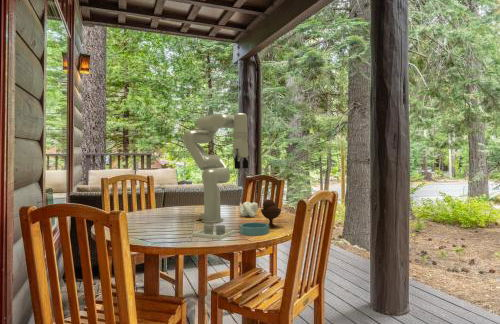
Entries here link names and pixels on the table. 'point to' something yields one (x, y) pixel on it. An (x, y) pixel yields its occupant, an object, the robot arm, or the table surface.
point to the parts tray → (214, 234)
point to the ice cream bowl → (270, 211)
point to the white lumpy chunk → (249, 209)
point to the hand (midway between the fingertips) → (241, 168)
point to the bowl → (254, 229)
